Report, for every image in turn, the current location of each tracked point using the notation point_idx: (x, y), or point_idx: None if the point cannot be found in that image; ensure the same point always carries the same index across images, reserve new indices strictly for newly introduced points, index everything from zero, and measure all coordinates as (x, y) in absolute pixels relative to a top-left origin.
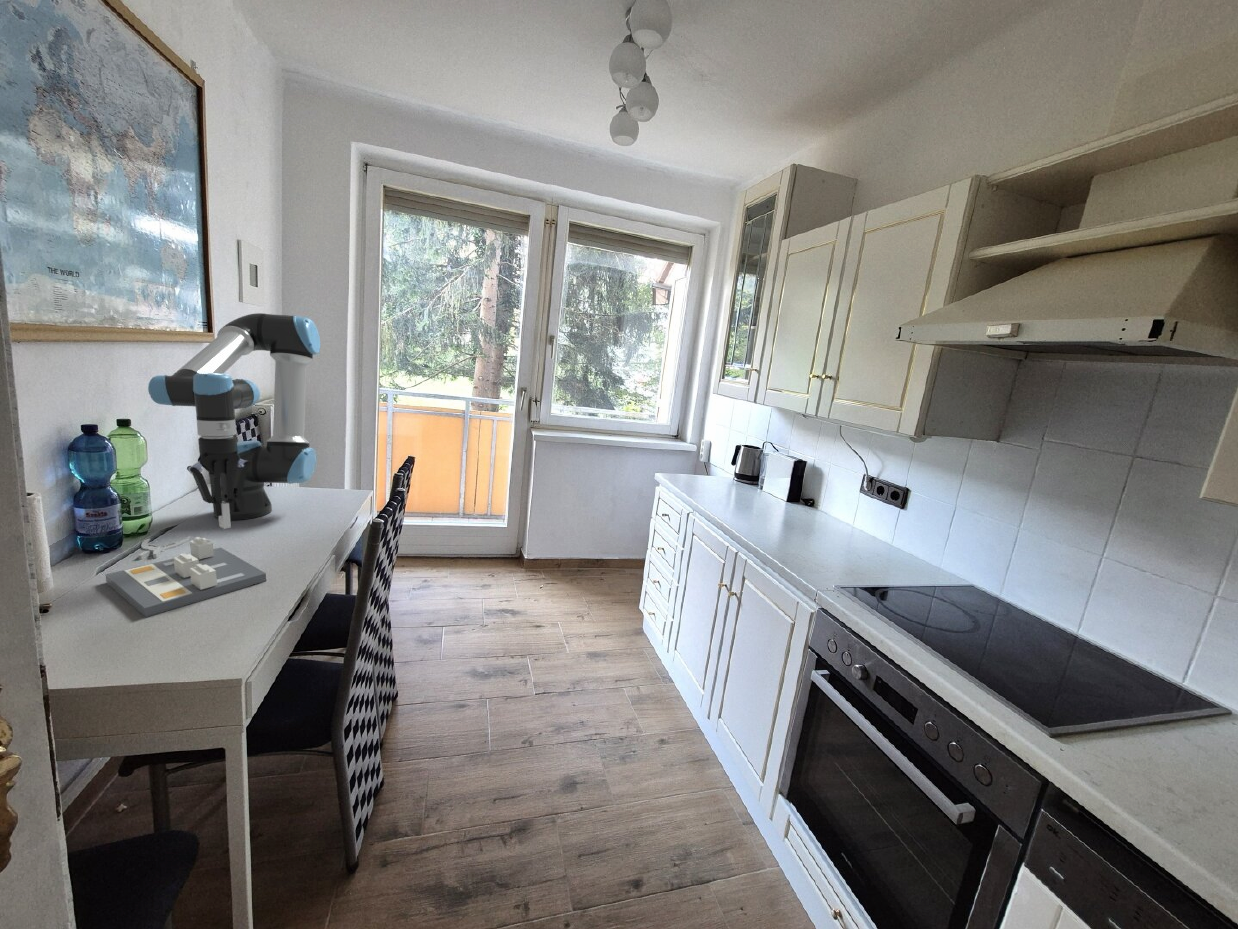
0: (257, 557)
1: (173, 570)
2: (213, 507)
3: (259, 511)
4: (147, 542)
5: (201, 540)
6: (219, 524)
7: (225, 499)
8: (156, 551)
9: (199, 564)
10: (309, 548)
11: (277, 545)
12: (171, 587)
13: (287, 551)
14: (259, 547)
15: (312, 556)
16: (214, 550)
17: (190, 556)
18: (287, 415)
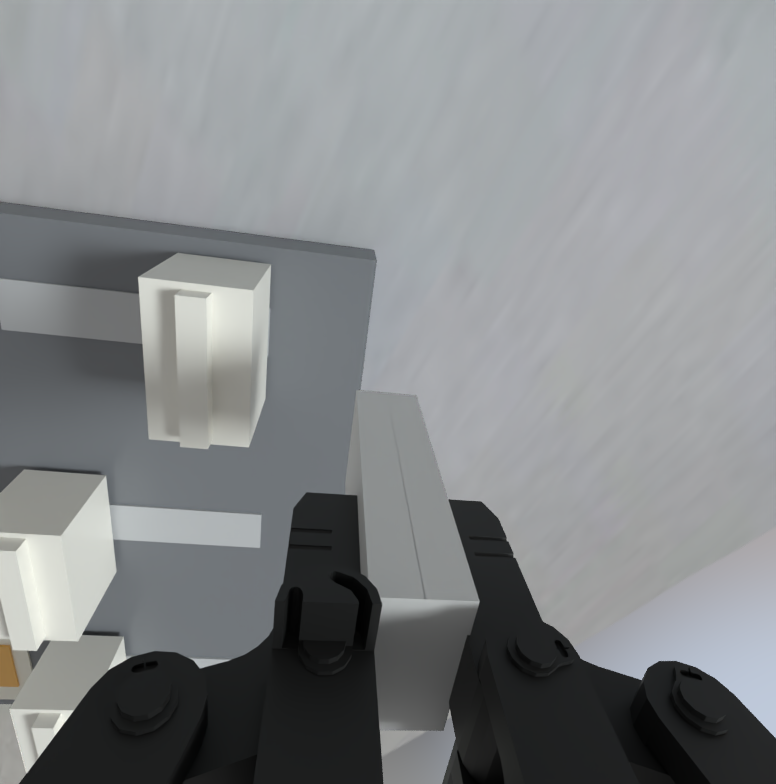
0: (459, 444)
1: (27, 426)
2: (284, 577)
3: None
4: None
5: (188, 400)
6: (356, 406)
7: (471, 696)
8: None
9: (46, 735)
10: (667, 517)
11: (639, 361)
12: None
13: (590, 478)
14: (570, 311)
15: (590, 600)
16: (320, 287)
17: (54, 575)
18: None
